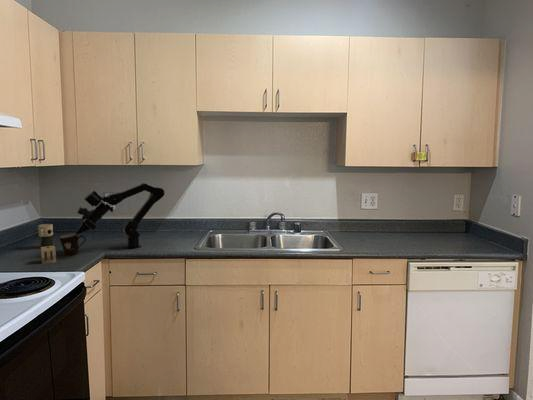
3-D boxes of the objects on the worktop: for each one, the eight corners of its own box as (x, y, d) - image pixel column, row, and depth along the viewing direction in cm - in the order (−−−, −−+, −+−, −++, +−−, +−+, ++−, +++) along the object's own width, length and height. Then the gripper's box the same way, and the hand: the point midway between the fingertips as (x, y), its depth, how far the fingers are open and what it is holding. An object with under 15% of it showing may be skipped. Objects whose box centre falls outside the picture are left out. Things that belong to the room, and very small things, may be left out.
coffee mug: (59, 256, 199) (55, 238, 197) (71, 251, 207) (67, 233, 205) (77, 256, 196) (73, 237, 194) (89, 250, 204) (85, 232, 202)
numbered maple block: (56, 262, 188) (55, 247, 187) (42, 263, 185) (41, 249, 184) (55, 259, 193) (54, 245, 192) (41, 260, 190) (40, 246, 189)
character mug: (48, 249, 213) (46, 226, 211) (35, 249, 212) (33, 226, 211) (58, 244, 224) (56, 223, 222) (45, 245, 223) (44, 223, 222)
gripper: (85, 200, 210) (63, 220, 206) (88, 203, 194) (64, 226, 190) (101, 214, 215) (79, 234, 210) (105, 218, 199) (82, 240, 194)
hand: (76, 233), depth 201 cm, fingers closed, pressing on coffee mug
